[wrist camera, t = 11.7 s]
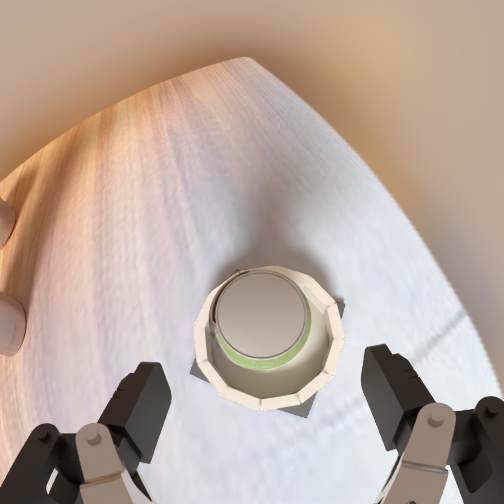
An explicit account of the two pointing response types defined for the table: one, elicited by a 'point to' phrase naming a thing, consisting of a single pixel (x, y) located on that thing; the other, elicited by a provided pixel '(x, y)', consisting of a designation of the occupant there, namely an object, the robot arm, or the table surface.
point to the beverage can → (260, 319)
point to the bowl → (287, 375)
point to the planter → (6, 222)
